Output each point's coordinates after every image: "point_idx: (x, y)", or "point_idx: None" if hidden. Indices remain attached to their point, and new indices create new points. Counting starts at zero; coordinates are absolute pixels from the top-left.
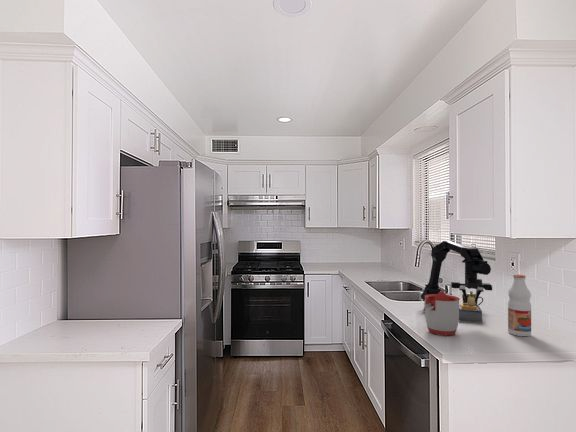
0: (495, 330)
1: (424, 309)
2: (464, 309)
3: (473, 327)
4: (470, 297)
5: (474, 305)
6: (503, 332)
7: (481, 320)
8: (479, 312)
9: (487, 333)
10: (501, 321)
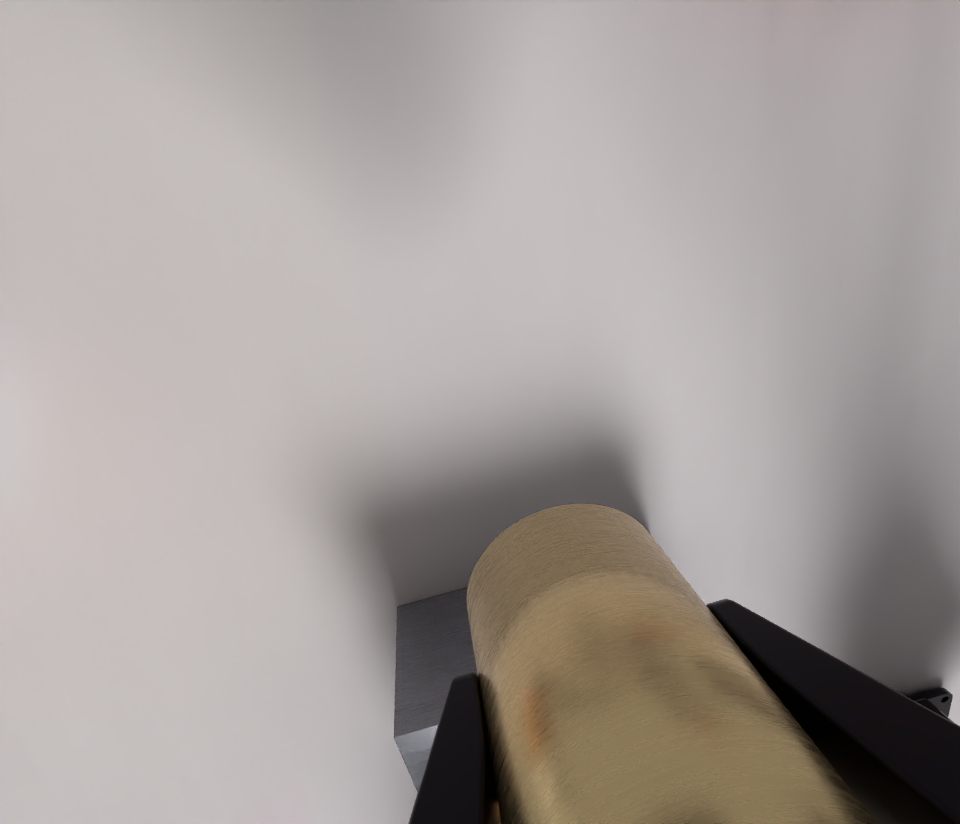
0: (161, 338)
1: (945, 692)
2: None
3: (446, 317)
4: (717, 742)
5: (485, 571)
6: (31, 293)
7: (402, 623)
8: (427, 704)
9: (200, 68)
10: (232, 758)
